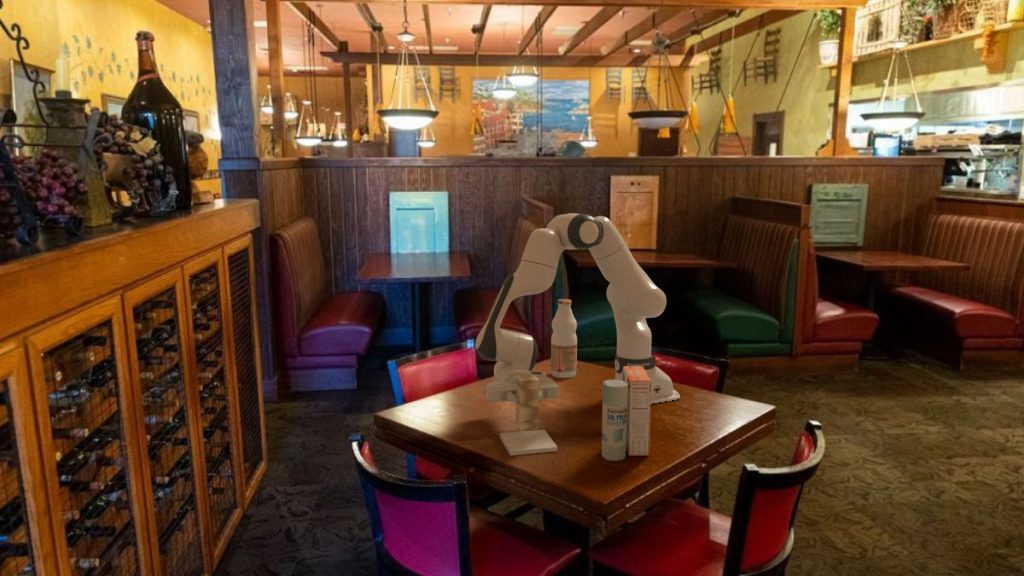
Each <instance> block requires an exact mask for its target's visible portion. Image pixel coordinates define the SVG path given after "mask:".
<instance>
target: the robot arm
mask: <svg viewBox="0 0 1024 576" xmlns="http://www.w3.org/2000/svg"><path fill="white" fill-rule="evenodd" d="M529 235H530V236H529V238H528V239H527V242H526V245H525V248H524V250H523V253H522V257H521V261H520V264H519V266H518V268H517V270H516V271H515V272H514V273H513V274H511V275H508V276H506V278H505V279H504V281H503V283H502V284H501V286H500V288H499V290H498V292H497V295H496V297H495V299H494V301H493V304H492V306H491V309H490V310H489V312H488V315H487V317H486V320H485V322H484V323H483V326H482V327H481V329H480V332H479V333H478V335H477V337H476V340H475V345H474V346H475V347H474V349H475V351H476V353H477V354H478V355H479V357H480V358H481V359H482V360H483V361H484V360H485V361H492V362H495V361H496V363H495V365H494V367H493V376H494V380H495V381H494V382H490V383H487V384H486V386H482V391H483V393H486V399H487V402H489V403H499V402H500V403H502V402H511V403H513V404H516V403H519V396H518V395H516V389H517V375H533V374H534V375H535V376H536V377H537V378H538V379H539V403H540V402H543V400H546V399H547V400H549V399H556V398H557V397H559V385H558V384H557V383H556V382H555V381H554V380H553V379H552V378H551V377H548V376H547V373H545V372H543V371H542V372H541V371H532V370H533V369H534V368H535V366H536V363H537V360H538V354H539V347H538V344H537V342H536V339H535V338H534V337H533V336H532V335H529V334H525V333H521V332H517V331H512V330H508V329H503V328H501V324H502V322H503V319H504V318H505V316H506V313H507V311H508V308H509V306H510V304H511V302H513V301H514V300H515V299H517V298H519V297H520V298H521V297H524V296H530V295H538V294H541V293H544V292H546V291H547V290H548V289H550V287H552V285H553V283H554V281H555V278H556V275H557V271H558V265H559V261H560V258H561V256H562V253H563V252H564V251H565V250H568V251H570V250H581V251H582V250H583V251H584V250H589V252H590V255H591V256H592V258H593V260H594V261H595V263H596V266H597V267H598V268H599V270H600V272H601V274H602V276H603V277H604V278H605V280H606V281H608V282H609V284H608V286H607V288H606V298H607V299H606V300H607V301H608V303H609V304H610V306H611V309H612V313H613V317H614V318H613V319H614V322H615V327H616V339H617V340H616V354H615V359H614V370H615V377H614V380H622V381H623V366H643V368H644V370H645V372H646V373H647V375H648V377H649V379H650V381H651V402H650V405H654V404H653V403H655V404H660V403H659V402H661V403H666V402H665V401H667V402H673V401H672V400H674V401H678V400H677V399H679V398H680V399H681V395H680V393H679V392H678V391H677V390H676V389H674V385H673V382H672V381H673V380H672V379H671V377H670V376H669V375H668V374H666V373H665V372H664V371H663V370H662V369H660V368H659V367H657V366H656V365H658V366H659V365H661V364H662V359H661V358H660V357H655V356H654V355H652V331H651V329H650V327H649V326H648V322H647V320H646V319H651V318H653V319H654V318H657V317H659V316H660V315H661V314H662V313H663V312H664V311H665V309H666V306H667V296H666V294H665V292H664V291H663V290H662V289H660V288H659V287H658V286H657V285H656V284H655V283H654V282H653V281H652V279H651V278H650V277H649V276H648V274H647V273H646V272H645V270H643V268H642V267H641V266H640V264H638V262H637V260H636V259H635V258H634V256H633V254H632V252H631V251H630V248H629V247H628V245H627V243H626V241H625V240H624V238H623V236H622V235H621V233H620V232H619V230H618V228H617V227H616V225H614V224H613V222H612V220H610V219H609V218H608V217H606V216H603V215H598V216H594V217H593V216H592V215H589V214H586V213H575V212H574V213H572V212H570V213H565V214H561V213H559V214H556V215H553V216H551V217H549V219H547V220H546V222H545V224H544V225H543V227H541V228H537V229H535V230H533V231H532V232H531V233H530V234H529ZM680 399H679V400H680Z"/></svg>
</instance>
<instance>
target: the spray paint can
mask: <svg viewBox="0 0 1024 576" xmlns="http://www.w3.org/2000/svg"><path fill="white" fill-rule="evenodd" d="M627 400H628V383H627V382H625V381H622V380H615V379H607V380H604V381H603V382H602V400H601V401H602V403H601V404H602V405H601V406H602V410H601V411H602V412H601V457H602V458H603V459H604V460H607V461H613V462H619V461H622V460H625V459H626V456H627V455H626V454H627V453H626V452H627V449H626V428H627Z"/></svg>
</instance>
